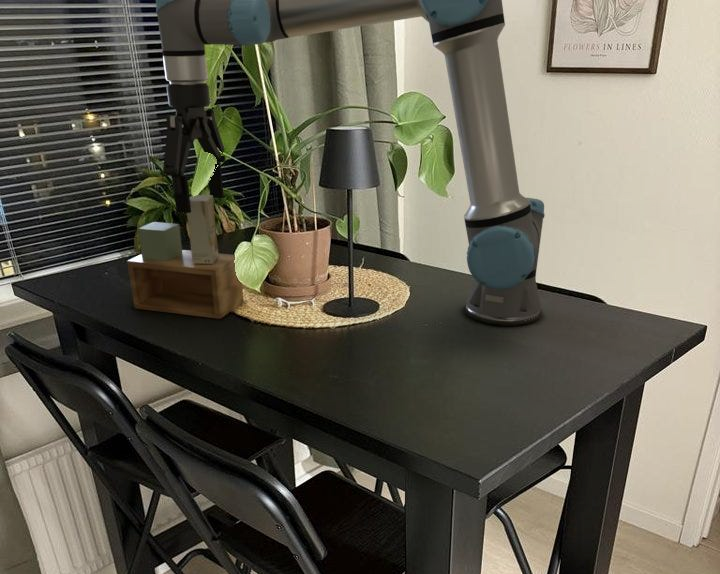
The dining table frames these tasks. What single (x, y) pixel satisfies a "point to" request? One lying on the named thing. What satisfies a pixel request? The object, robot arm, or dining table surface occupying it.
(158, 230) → the sage box
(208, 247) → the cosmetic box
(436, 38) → the robot arm
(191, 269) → the shelf
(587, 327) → the dining table surface
